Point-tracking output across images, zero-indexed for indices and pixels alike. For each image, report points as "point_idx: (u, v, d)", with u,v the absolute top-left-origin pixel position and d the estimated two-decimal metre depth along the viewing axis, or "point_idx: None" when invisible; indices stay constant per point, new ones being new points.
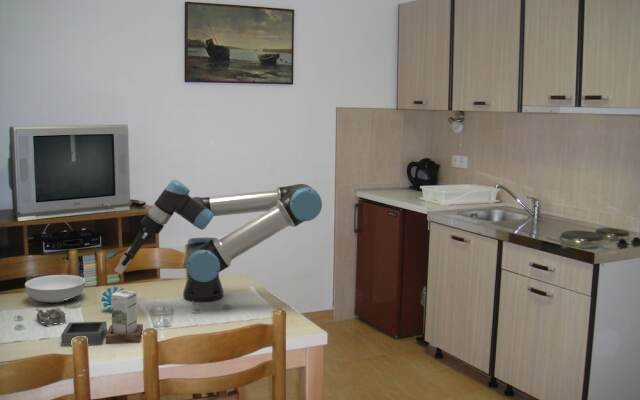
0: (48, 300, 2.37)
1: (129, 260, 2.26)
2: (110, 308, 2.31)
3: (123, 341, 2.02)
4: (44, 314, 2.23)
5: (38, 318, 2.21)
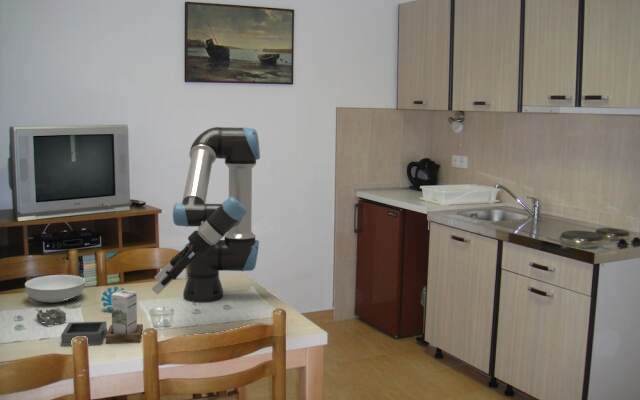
0: (48, 300, 2.37)
1: (170, 280, 2.00)
2: (110, 308, 2.31)
3: (123, 341, 2.02)
4: (44, 314, 2.23)
5: (38, 318, 2.21)
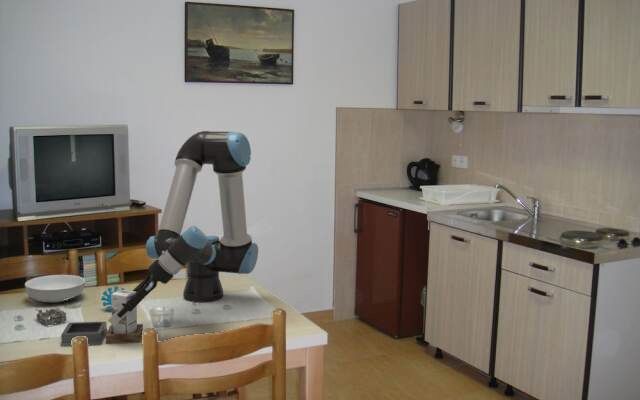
0: (48, 300, 2.37)
1: (126, 312, 2.01)
2: (109, 307, 2.32)
3: (123, 341, 2.02)
4: (44, 314, 2.23)
5: (38, 318, 2.21)
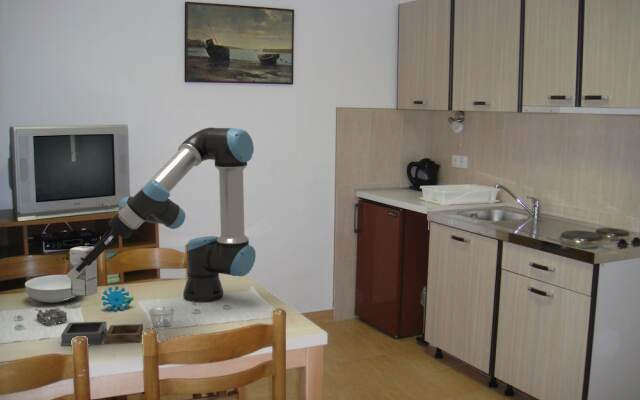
0: (48, 300, 2.37)
1: (85, 266, 1.97)
2: (109, 307, 2.32)
3: (123, 341, 2.02)
4: (43, 314, 2.23)
5: (38, 318, 2.21)
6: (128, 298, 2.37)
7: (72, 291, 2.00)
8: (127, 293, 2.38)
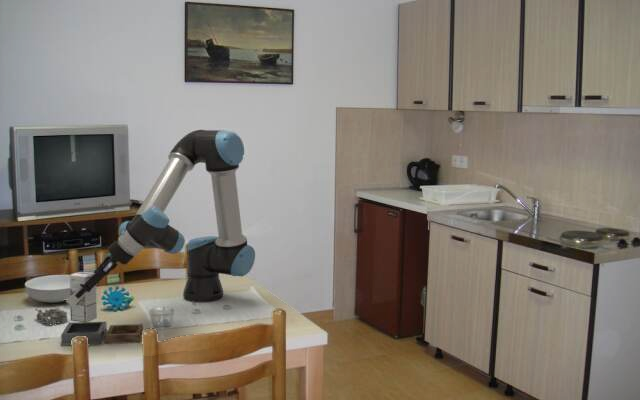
0: (48, 300, 2.37)
1: (85, 292, 1.99)
2: (109, 307, 2.32)
3: (123, 341, 2.02)
4: (43, 314, 2.23)
5: (38, 318, 2.21)
6: (128, 298, 2.37)
7: (71, 317, 2.02)
8: (127, 293, 2.38)
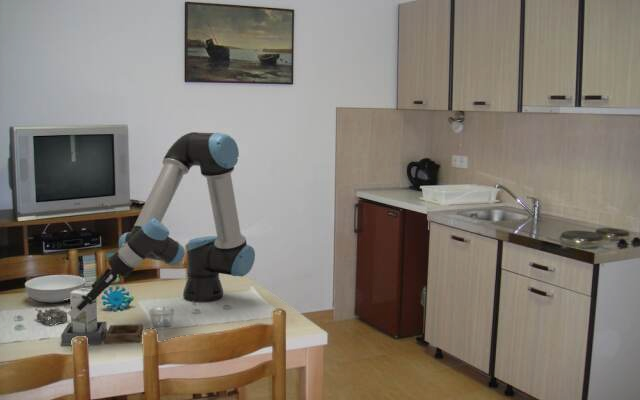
0: (48, 300, 2.37)
1: (86, 304, 1.97)
2: (109, 307, 2.33)
3: (123, 341, 2.02)
4: (43, 314, 2.23)
5: (38, 318, 2.21)
6: (128, 298, 2.37)
7: None
8: (127, 293, 2.38)
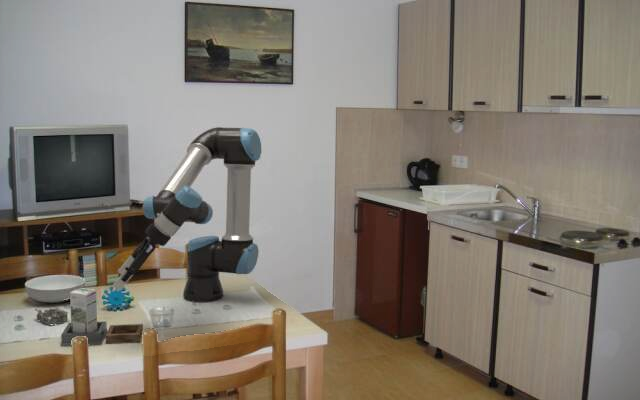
0: (48, 300, 2.37)
1: (130, 275, 1.99)
2: (108, 306, 2.33)
3: (123, 341, 2.02)
4: (43, 314, 2.23)
5: (38, 318, 2.21)
6: (128, 298, 2.37)
7: None
8: (128, 293, 2.38)
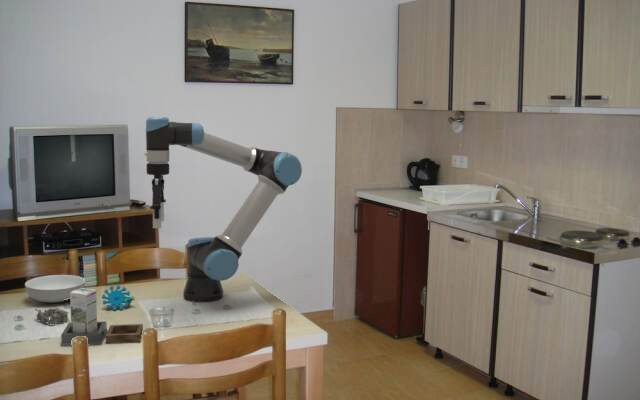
0: (48, 300, 2.37)
1: (159, 211, 2.19)
2: (108, 306, 2.33)
3: (123, 341, 2.02)
4: (43, 314, 2.23)
5: (38, 318, 2.21)
6: (128, 298, 2.37)
7: None
8: (128, 293, 2.38)
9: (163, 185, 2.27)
